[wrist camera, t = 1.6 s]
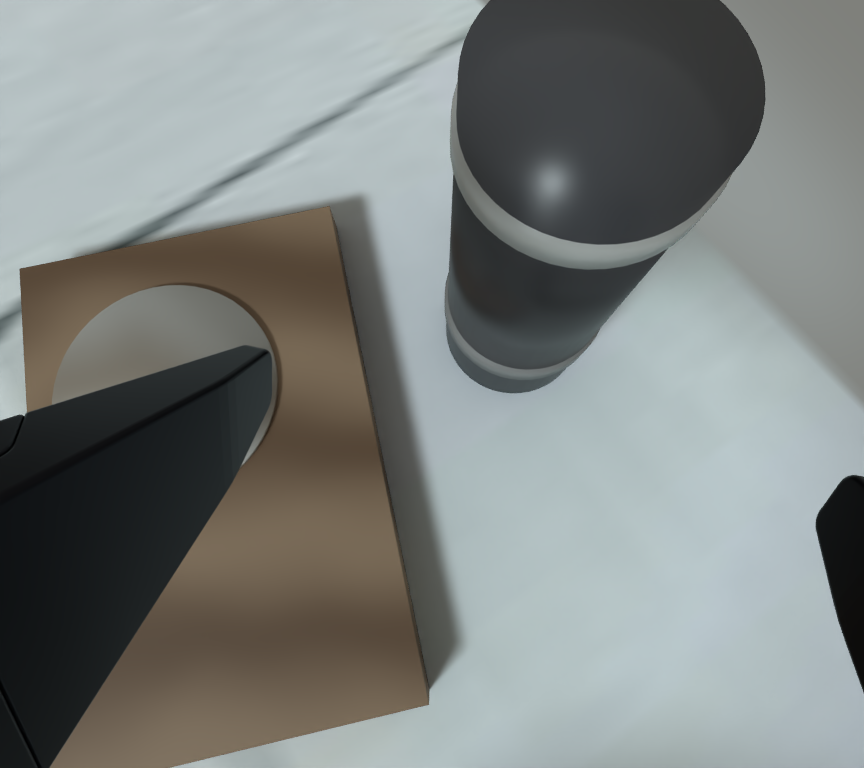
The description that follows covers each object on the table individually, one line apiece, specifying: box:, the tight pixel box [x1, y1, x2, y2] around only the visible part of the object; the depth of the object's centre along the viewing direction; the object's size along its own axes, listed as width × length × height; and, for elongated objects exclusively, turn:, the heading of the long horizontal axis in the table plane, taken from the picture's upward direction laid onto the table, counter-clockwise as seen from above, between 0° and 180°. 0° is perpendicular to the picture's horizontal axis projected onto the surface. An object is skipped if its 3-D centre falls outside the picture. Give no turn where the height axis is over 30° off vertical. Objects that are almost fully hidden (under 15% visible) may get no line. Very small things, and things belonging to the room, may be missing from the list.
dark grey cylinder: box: [445, 0, 765, 393], centre depth 16 cm, size 5×5×13 cm
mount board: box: [20, 206, 429, 768], centre depth 20 cm, size 18×12×2 cm, turn 13°
